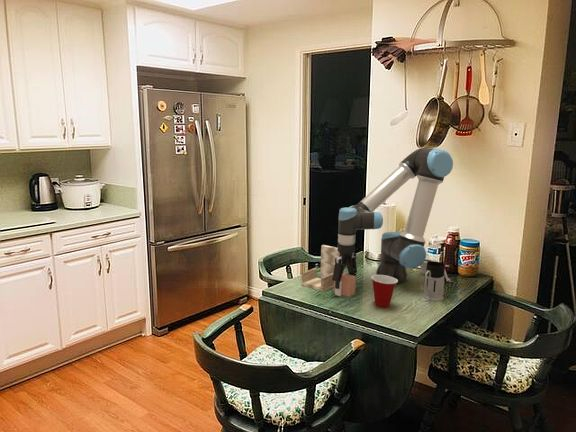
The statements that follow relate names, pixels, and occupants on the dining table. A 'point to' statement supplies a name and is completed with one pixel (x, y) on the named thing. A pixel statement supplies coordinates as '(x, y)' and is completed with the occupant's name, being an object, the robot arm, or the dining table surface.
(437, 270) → the glass holder
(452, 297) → the dining table surface
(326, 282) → the wooden block stack
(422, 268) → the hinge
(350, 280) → the rail end
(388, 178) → the robot arm
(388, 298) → the plastic cup
